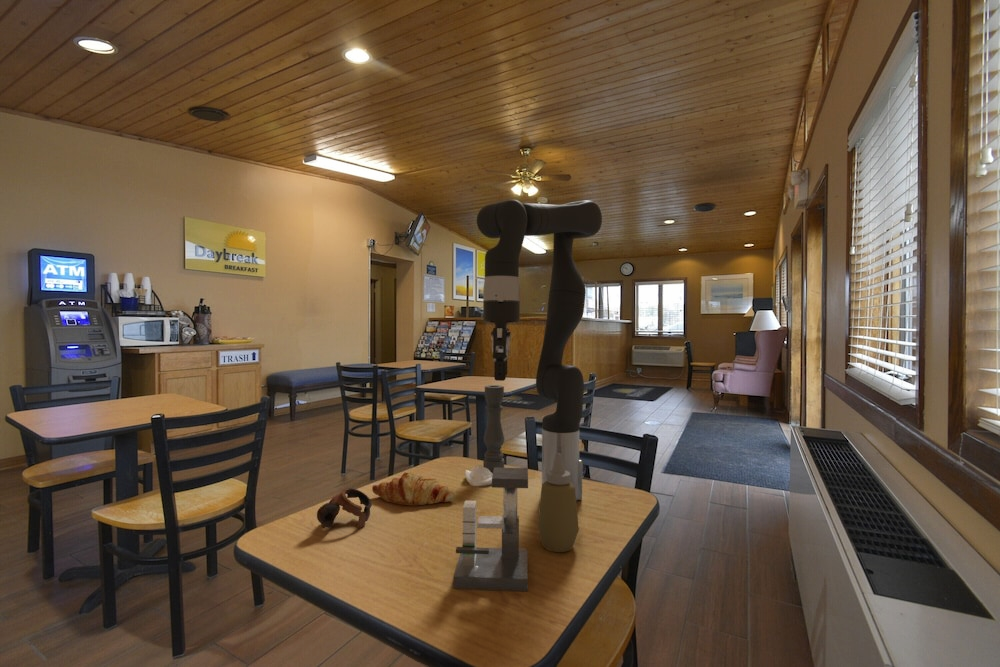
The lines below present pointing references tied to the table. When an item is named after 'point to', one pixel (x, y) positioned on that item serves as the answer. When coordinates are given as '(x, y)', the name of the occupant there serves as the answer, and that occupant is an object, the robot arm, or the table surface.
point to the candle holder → (494, 428)
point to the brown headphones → (344, 507)
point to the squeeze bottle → (558, 509)
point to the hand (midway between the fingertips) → (501, 377)
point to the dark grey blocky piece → (506, 498)
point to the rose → (479, 476)
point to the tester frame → (490, 560)
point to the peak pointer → (472, 550)
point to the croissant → (413, 491)
